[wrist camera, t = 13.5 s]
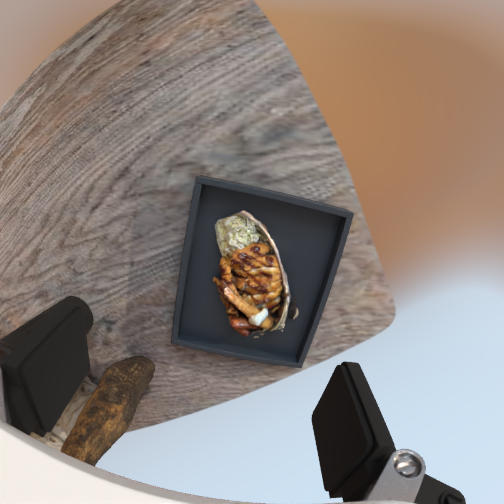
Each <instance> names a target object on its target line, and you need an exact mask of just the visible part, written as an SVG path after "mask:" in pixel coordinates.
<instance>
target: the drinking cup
mask: <svg viewBox="0 0 504 504" xmlns="http://www.w3.org/2000/svg"><path fill="white" fill-rule="evenodd" d="M66 301H68V302H71V303H74V304H77V305H79V306H80V307H81V310H82V311H84V314H85V326H86V334H87V333H88V331H89V330H90V328H91V327H92V324H93V315H92V312H91V310H90V308H89V307H88V305H87V304H86V303H85V302H84V301H83V300H81V299H80V298H78V297H75V296H69V297H67V298H65V299H63V300H62V301H60V302H58V303H57V304H55V305H54V306H52V307H50V308H49V309H47V310H46V311H44V312H42V313H41V314H39V315H38V316H36V317H35V318H33V319H32V320H30V321H28V322H27V323H25V324H24V325H22V326H21V327H19V328H18V329H16V330H15V331H13V332H12V333H10V334H9V335H7V336H6V337H4V338H3V339H1V340H0V366H1V365H2V364H3V360H4V359H5V358H6V357H7V356H8V355H9V354H10V353H11V352H12V351H13V350H14V349H15V348H16V347H17V346H18V345H19V344H20V343H21V342H22V341H23V340H24V339H25V338H26V337H27V336H28V335H29V334H31V333H32V332H33V331H34V330H35V329H36V328H37V327H38V326H39V325H40V324H41V323H42V322H43V321H44V320H45V319H47V318H48V317H49V316H50V315H51V314H52V313H53V312H54V311H55V310H56V309H58V308H59V307H60V306H61V305H62V304H63V303H64V302H66Z"/></svg>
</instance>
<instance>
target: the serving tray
mask: <svg viewBox="0 0 504 504" xmlns="http://www.w3.org/2000/svg"><path fill="white" fill-rule="evenodd" d="M241 211H246V212H248V213H251V215H253V217H254V218H255V219H256V220H259V221H261V222H262V223H263V224H264V225H265V226H266V228H267V231H268V233H269V235H270V238H271V239H273V241H274V243H275V245H276V248H277V249H278V250H279V258H280V261H281V263H282V265H283V268H284V271H285V273H286V275H287V282H288V286H289V290H290V294H291V296H292V295H294V296H295V297H296V303H295V304H296V305H295V306H296V307H297V309H298V312H299V313H298V316H297V317H296V318H295V319H289V317H288V314H287V317H286V320H285V323H284V324H285V327H284V328H281V329H280V330H275V329H274V330H273V331H269V330H267V329H266V330H265V331H263V332H261V333H262V334H263V333H264V334H263V335H261V334H260V332H254V333H252V334H251V335H250V336H248V337H244V336H242V335H240V334H239V333H238V332H236V331H235V330H234V329H233V328H232V327H231V325H230V323H229V317H228V314H227V311H226V307H225V305H224V304H223V302H222V300H221V298H220V295H219V292H218V288H217V285H216V283H214V281H213V278H214V277H215V278H219V280H221V281H222V277H221V273H220V269H219V263H220V260H221V258H222V254H221V252H220V249H219V246H218V243H217V237H216V230H215V224H216V223H217V221H218V220H220V219H223V218H226V217H229V216H231V215H234V214H236V213H239V212H241ZM353 215H354V213H352V212H350V211H349V210H346V209H343V208H339V207H335V206H332V205H328V204H324V203H320V202H317V201H313V200H309V199H305V198H301V197H297V196H293V195H289V194H285V193H281V192H276V191H272V190H268V189H263V188H259V187H255V186H250V185H246V184H241V183H236V182H232V181H227V180H222V179H217V178H212V177H207V176H202V175H201V176H197V177H196V181H195V186H194V191H193V197H192V202H191V207H190V213H189V218H188V224H187V230H186V236H185V242H184V248H183V254H182V261H181V268H180V274H179V281H178V289H177V296H176V304H175V312H174V321H173V329H172V339H171V343H172V344H176V345H180V346H184V347H188V348H192V349H197V350H201V351H206V352H210V353H215V354H220V355H224V356H229V357H235V358H240V359H245V360H251V361H256V362H262V363H268V364H275V365H281V366H288V367H295V368H302V365H303V363H304V360H305V358H306V355H307V353H308V350H309V348H310V345H311V342H312V340H313V337H314V335H315V332H316V329H317V327H318V324H319V321H320V318H321V316H322V313H323V310H324V307H325V304H326V301H327V299H328V296H329V293H330V290H331V287H332V284H333V281H334V278H335V275H336V272H337V269H338V265H339V262H340V259H341V256H342V253H343V249H344V246H345V243H346V239H347V236H348V233H349V229H350V226H351V222H352V218H353ZM288 309H289V308H288ZM288 311H289V310H288ZM279 319H280V317H279ZM279 319H278V320H279ZM281 330H283V331H281ZM257 336H258V337H259V338H254V337H257Z"/></svg>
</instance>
